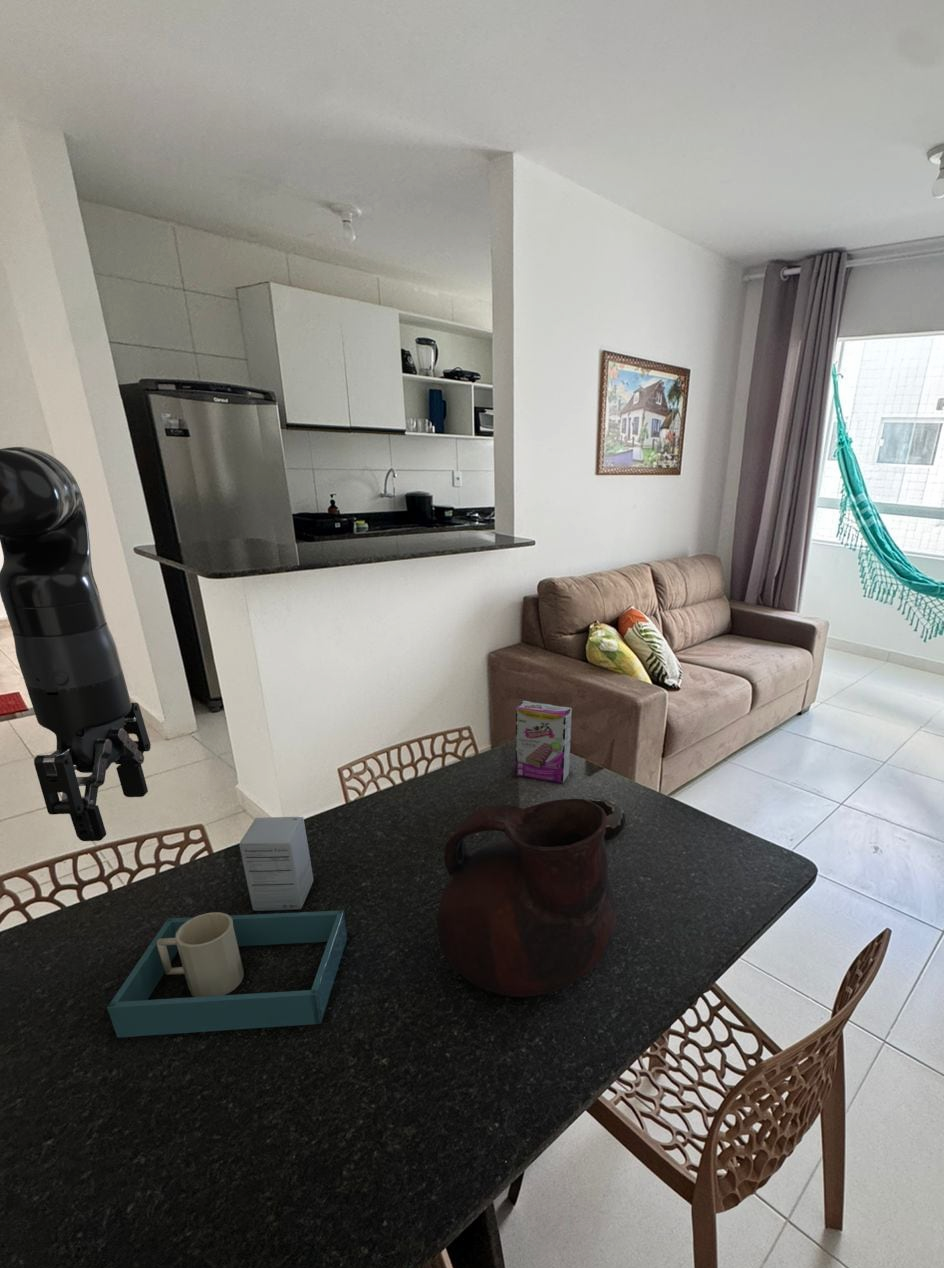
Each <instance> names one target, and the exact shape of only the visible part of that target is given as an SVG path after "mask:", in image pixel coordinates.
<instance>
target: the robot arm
mask: <svg viewBox="0 0 944 1268" xmlns="http://www.w3.org/2000/svg"><path fill="white" fill-rule="evenodd" d="M88 523H89V522H88V516H87V511H86V505H85V502H84V498H83V494H82V492H81V489H80V486H79V484H78V482H77V480H76V478H75V476H74V475H73V473H72V472H71V471H70V470H69V469H68V467H67V466H66V465H64V463H62V462H61V461H60V460H58V459H57V457H54V456H52V455H51V454H49V453H47V452H44V451H43V450H40V449H36V448H33V447H26V446H12V447H4V448H0V548H1V551H2V556H3V562H2V564H3V565H2V567H1V569H0V598H1V601H2V602H1V603H2V604H3V606H4V607H3V608H4V610H5V614H6V618H7V620H8V622H9V626H10V630H11V631H12V637H13V641H14V648H15V655H16V659H17V663H18V665H19V668H20V672H21V675H22V677H23V680H24V684H25V687H26V690H27V693H28V697H29V700H30V703H31V706H32V708H33V712H34V715H35V718H36V721H37V723H38V724H39V725H40V726H41V727H43V728H45V729H46V730H49V731H50V732H52V733H53V734H54V735H55V738H56V750H54V751H53V752H51V753H50V754H37V755H36V756H35V757H34V760H33V764H34V768H35V772H36V776H37V779H38V783H39V786H40V790H41V793H42V798H43V800H44V803H45V807H46V811H47V813H48V814H49V815H51V816H52V815H69V816H70V820H71V822H72V823H71V824H72V826H73V828H74V831H75V834H76V837H77V839H78V840H80V841H82V842H100V841H102V840H103V839H104V838H105V837H106V836H107V831H106V827H105V823H104V820H103V817H102V814H101V810H100V808H99V807H100V806H99V805H97V800H98V792H99V788H100V787H101V786H103V785H104V784H105V782H106V774H107V770H108V769H109V768H110V766H111V765H112V764H115V765H118V766H116V767H115V769H116V772H117V776H118V779H119V784H120V786H121V791H122V794H123V796H124V797H127V798H142V797H144V796H146V795H147V793H148V792H149V788H148V785H147V782H146V777H145V774H144V773H145V772H144V769H143V767H142V764H144V762H145V755H144V753H145V752H150V750H151V748H152V747H151V746H152V745H151V741H150V737H149V735H148V731H147V727H146V724H145V721H144V718H143V714H142V711H141V710H142V709H141V707H140V704H139V703H138V702H132V701H131V698H130V694H129V690H128V686H127V682H126V679H125V675H124V671H123V667H122V663H121V659H120V655H119V651H118V648H117V644H116V641H115V639H114V636H113V635H112V633H111V630H110V628H109V625H108V622H107V618H106V614H105V611H104V606H103V602H102V598H101V595H100V591H99V588H98V585H97V582H96V580H95V577H94V573H93V567H92V553H91V539H90V533H89V524H88ZM130 735H135V736H136V737H137V740H133V739H132V738H131V737H130ZM76 771H77V772H79V773H82V774H90V775H88V776H77V774H76ZM80 787H85V788H84V796H82V793H81V789H80ZM59 793H61V799H60V796H59Z"/></svg>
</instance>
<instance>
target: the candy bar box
mask: <svg viewBox="0 0 944 1268" xmlns="http://www.w3.org/2000/svg"><path fill="white" fill-rule="evenodd" d="M572 712H573V709H572V707H570V706H569V707H568V706H563V705H562V706H561V705H555V704H549V703H541V702H535V701H529V700H522V701H521V702H520V704H519V705H517V706H516V707H515V776H516V777H522V778H528V779H533V780H540V781H545V782H552V783H556V784H557V783H558V784H564V783H565V781H566V779H567V778H568V776H569V774H570V759H571V740H572V739H571V737H572V736H571V735H572V734H571V733H572Z"/></svg>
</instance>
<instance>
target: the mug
mask: <svg viewBox="0 0 944 1268" xmlns="http://www.w3.org/2000/svg"><path fill="white" fill-rule="evenodd" d="M230 916H231V915H229V914H228V913H225V912H220V911H215V912H214V911H213V912H207V913H206V912H205V913H203V914H199V915H196V916H194V918H192V919H190V920H188V921H187V922H186V923H184V924H183V925H182V926H180V928H179V929H178V931H177V932H176V938H160V939H158V940H157V942H156V944H157V947H158V951H159V954H160V958H161V961H162V965H163V968H164V972H165V973H164V974H165V975H167V976H172V975H184V977H185V981H186V984H187V988H188V990H189V993H190V995H191V997H206V996H222V995H229V994H230V993H232V992H233V991H234V990H236V989H237V988H238V987H239V986H240V984H241V983H242V981H243V979H244V977H245V971H244V966H243V961H242V955H241V952H240V948H239V947H240V946H238V942H237V938H236V933H235V929H234V924H233V920H232V918H231V917H230ZM166 945H177V947H178V954H179V958H180V962H181V966H173V965H172V961H171V962H170V958H169V954H168V951H167V947H166Z"/></svg>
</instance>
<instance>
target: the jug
mask: <svg viewBox="0 0 944 1268" xmlns="http://www.w3.org/2000/svg"><path fill="white" fill-rule="evenodd" d="M584 799H585V798H562V799H554V800H553V799H552V800H548V801H544V802H540V803H536V804H534V805H531V806H528V807H523V808H522V807H519V806H517V805H511V804H505V803H502V804H499V803H498V804H491V805H487V806H483V807H480V808H478V809H476V810H475V811H473V812H471V813H470V814H469V815H467V817H465V818H464V819H463V820H462V821H461V822H460V824H459V825H458V826H457V828H456V829H455V831H454V833H453V834H452V835H451V837H450V838H449V839H448V841H447V842H446V844H445V847H444V854H443V855H444V857H443V861H444V865H445V868H446V871H447V873H448V876H449V878H448V880H447V882H446V884H445V886H444V889H443V891H442V893H441V896H440V900H439V901H440V902H439V905H438V910H437V913H436V914H437V915H436V933H437V938H438V942H439V945H440V947H441V950H442V953H443V954H444V956H445V957H446V959H447V960H448V963H450V965H451V966H452V967H453V968H454V969H455V970H456V972H457V973H458V974H459V975H461V976H462V977H463V979H464V978H465V980H467V981H469V982H470V983H472V984H473V985H476V986H477V987H479V988H481V989H483V990H486V991H488V992H491V993H494V994H498V995H502V996H506V997H516V998H517V997H518V998H526V997H529V998H530V997H537V996H543V995H547V994H549V993H552V992H555V991H558V990H560V989H563V988H565V987H567V986H569V985H572V984H573V983H575V982H576V981H578V980H580V979H581V978H584V977H585V976H586V975H588V974H589V973H590V972H591V971H592V970H594V969H595V967H596V966H597V965H598V964H600V962H601V961H602V959H603V958H604V956H605V954H606V953H607V951H608V949H609V947H610V945H611V943H612V940H613V937H614V933H615V929H616V924H617V920H618V906H617V900H616V896H615V895H616V894H615V891H614V887H613V886H612V884H611V881H610V879H609V858H608V849H607V846H606V843H605V840H604V833H605V829H606V825H607V816H606V813H605V811H604V810H603V809H602V808H601V807H599V806H598V805H596V804H594V803H592V802H590V801H588V800H584ZM487 831H488V832H490V831H491V832H492V831H496V832H497V831H498V832H503V833H504V834H505V835H506V837H507V838H502V839H500V840H496V841H494V842H491V843H488V844H486V845H484V846H481V847H480V848H477V849H476V850H474V851H472V850H470V849H469V848H468V847H467V845H466V842H465V838H466V837H468V836H471V835H473V834H476V833H477V834H478V833H481V832H487Z"/></svg>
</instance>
